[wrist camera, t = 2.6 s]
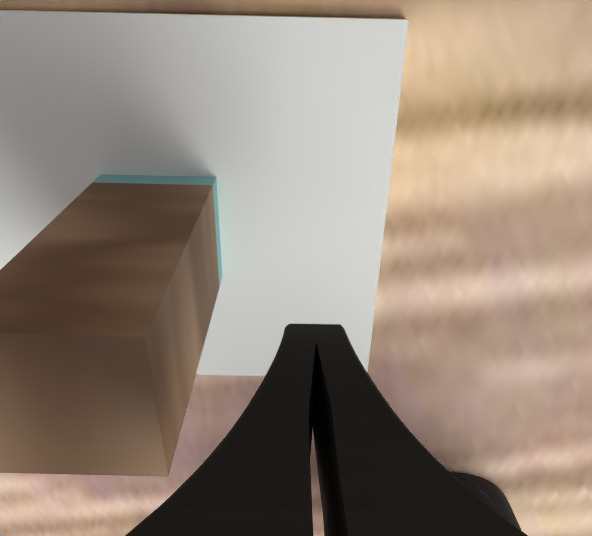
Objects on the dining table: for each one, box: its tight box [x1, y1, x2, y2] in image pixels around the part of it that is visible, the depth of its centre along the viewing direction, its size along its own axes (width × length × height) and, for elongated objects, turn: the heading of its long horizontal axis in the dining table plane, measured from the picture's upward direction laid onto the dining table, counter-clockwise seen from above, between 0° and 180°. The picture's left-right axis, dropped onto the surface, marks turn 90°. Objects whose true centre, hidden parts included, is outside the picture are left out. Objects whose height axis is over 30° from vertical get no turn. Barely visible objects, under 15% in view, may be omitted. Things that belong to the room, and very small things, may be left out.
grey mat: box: [0, 10, 409, 376], centre depth 19 cm, size 18×14×1 cm
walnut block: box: [0, 174, 223, 476], centre depth 14 cm, size 4×4×9 cm
